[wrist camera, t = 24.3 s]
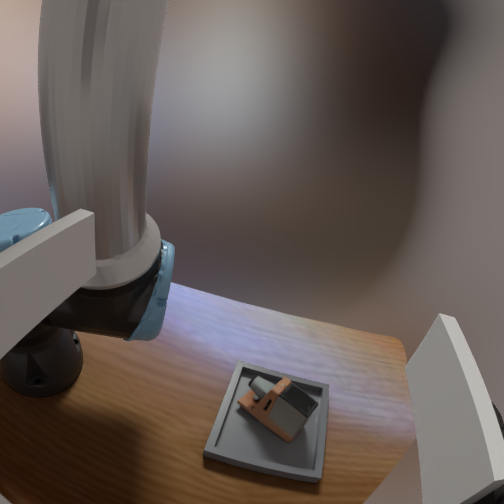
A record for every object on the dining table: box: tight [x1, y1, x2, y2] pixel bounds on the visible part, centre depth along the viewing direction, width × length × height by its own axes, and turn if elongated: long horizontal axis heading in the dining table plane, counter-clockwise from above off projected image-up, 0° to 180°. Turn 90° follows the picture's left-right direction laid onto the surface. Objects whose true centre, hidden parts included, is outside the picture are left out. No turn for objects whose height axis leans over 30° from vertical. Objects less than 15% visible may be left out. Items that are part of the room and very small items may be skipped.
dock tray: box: [203, 360, 329, 483], centre depth 39 cm, size 15×17×2 cm
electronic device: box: [237, 375, 318, 443], centre depth 37 cm, size 4×10×8 cm, turn 52°
